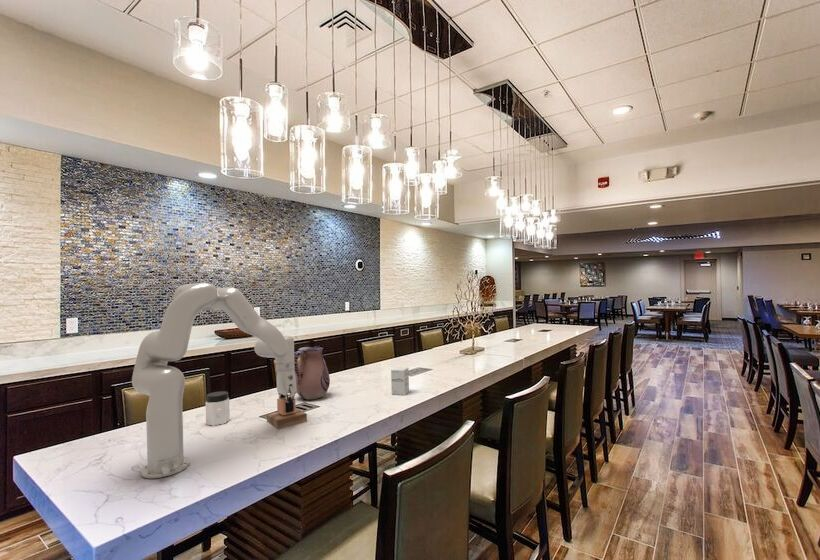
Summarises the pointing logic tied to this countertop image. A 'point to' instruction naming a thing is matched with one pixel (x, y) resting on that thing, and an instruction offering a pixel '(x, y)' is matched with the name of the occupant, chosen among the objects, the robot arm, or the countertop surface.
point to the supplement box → (400, 381)
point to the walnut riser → (286, 419)
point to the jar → (217, 408)
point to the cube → (282, 408)
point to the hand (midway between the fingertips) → (286, 409)
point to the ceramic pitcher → (311, 373)
